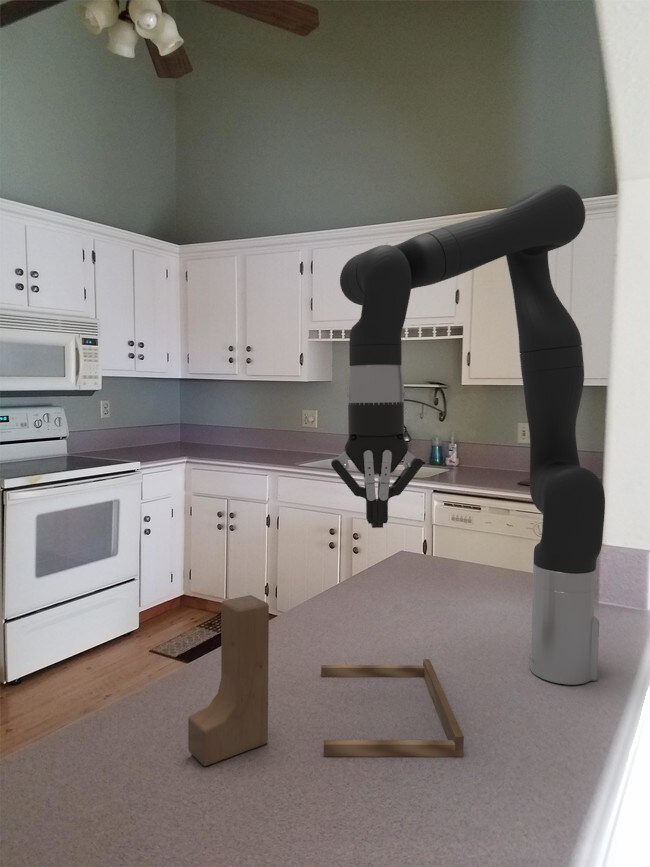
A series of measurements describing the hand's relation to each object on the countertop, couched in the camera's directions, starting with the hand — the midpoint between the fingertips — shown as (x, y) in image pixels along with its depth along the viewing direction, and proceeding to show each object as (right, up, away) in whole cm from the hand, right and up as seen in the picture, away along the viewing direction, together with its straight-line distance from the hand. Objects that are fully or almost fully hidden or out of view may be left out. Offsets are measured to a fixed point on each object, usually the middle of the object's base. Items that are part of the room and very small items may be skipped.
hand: (376, 526), depth 88 cm
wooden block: (-19, -26, -8) cm, 34 cm away
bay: (+1, -26, +2) cm, 26 cm away
